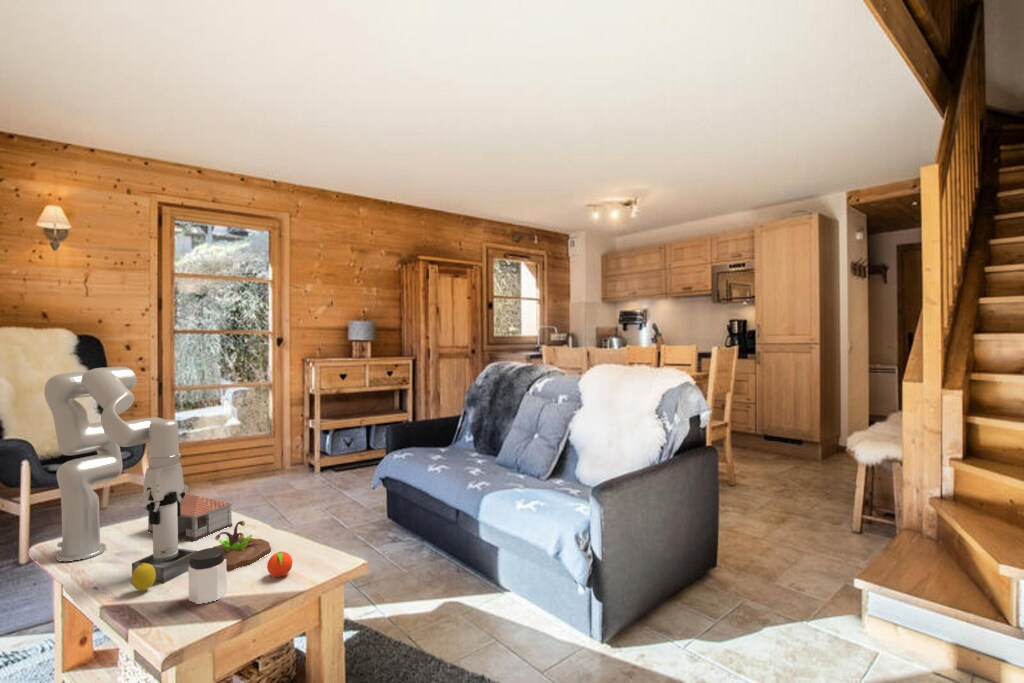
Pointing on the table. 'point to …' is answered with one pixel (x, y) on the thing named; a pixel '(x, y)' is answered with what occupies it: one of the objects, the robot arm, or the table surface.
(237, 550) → the plant
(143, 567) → the lemon
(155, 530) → the travel mug
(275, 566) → the clementine
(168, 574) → the grey tray
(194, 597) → the jar
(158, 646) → the table surface
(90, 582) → the table surface
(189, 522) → the model house
